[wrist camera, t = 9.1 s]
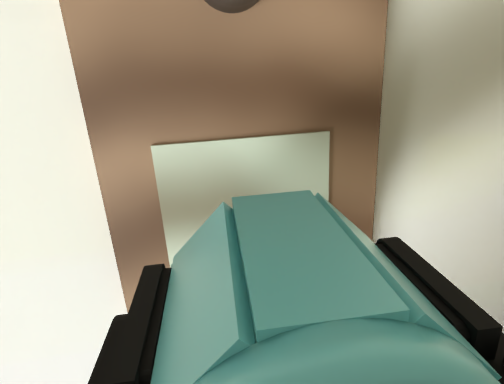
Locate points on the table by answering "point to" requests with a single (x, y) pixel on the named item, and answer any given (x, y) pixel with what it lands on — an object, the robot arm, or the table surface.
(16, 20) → the table surface
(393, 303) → the teal cap
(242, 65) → the post board
